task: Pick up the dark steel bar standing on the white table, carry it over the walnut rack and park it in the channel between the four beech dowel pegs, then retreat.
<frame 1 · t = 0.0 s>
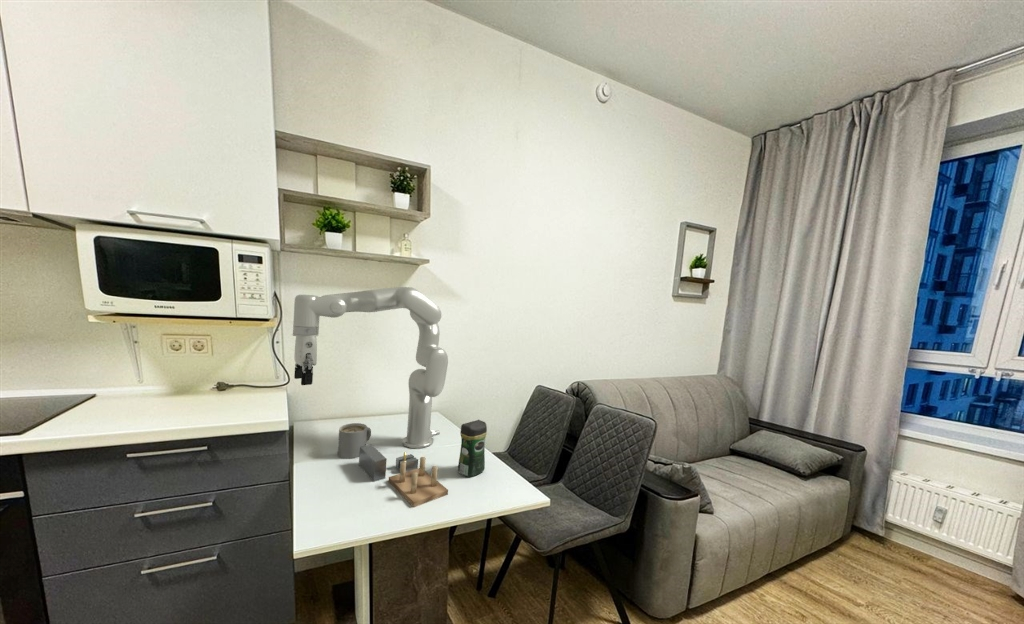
hand: (303, 381, 119), 31 cm above the table, fingers open, 9 cm apart
rack: (417, 487, 116), on the table
steel bar: (371, 472, 124), on the table
coffee mug: (356, 452, 138), on the table
coffee jar: (470, 472, 129), on the table
slot block: (406, 468, 128), on the table
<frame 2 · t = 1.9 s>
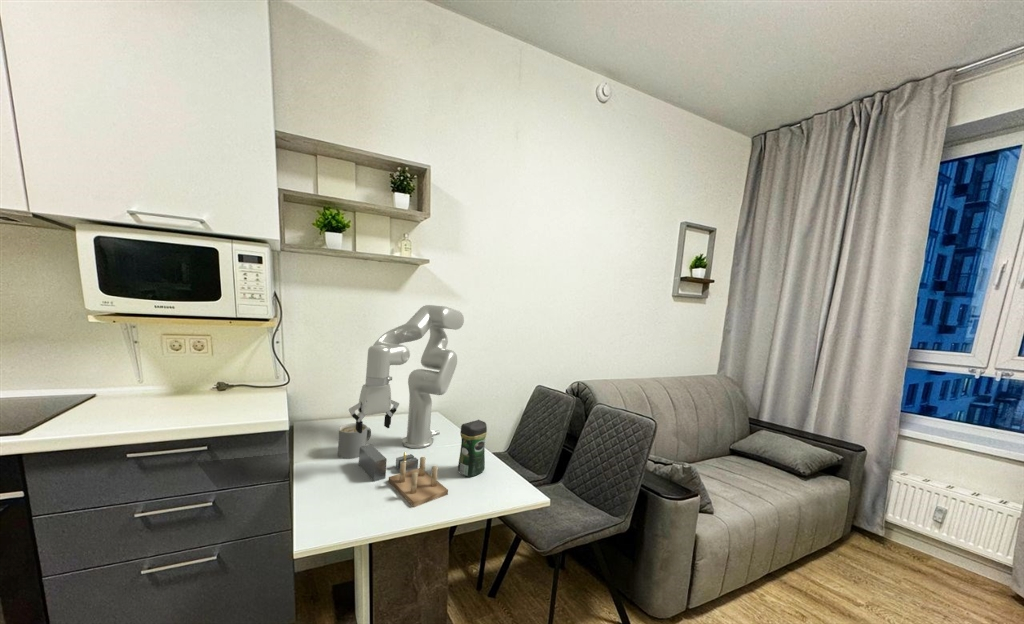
hand: (373, 429, 123), 15 cm above the table, fingers open, 9 cm apart
nothing on the table moved.
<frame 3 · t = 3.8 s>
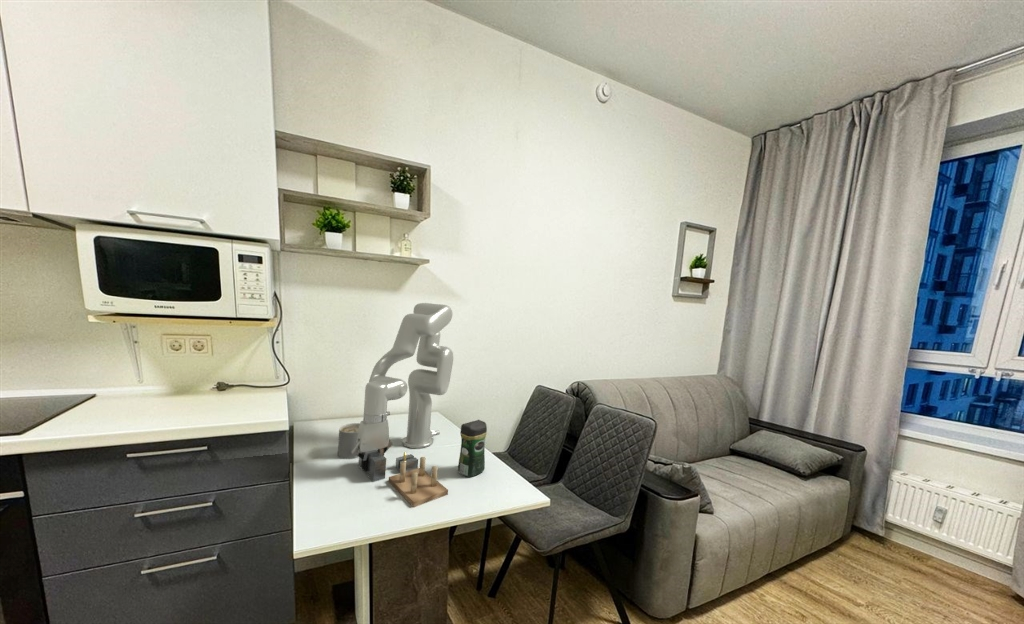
hand: (371, 467, 123), 1 cm above the table, fingers closed on steel bar, 4 cm apart
steel bar: (371, 471, 124), on the table, touching gripper
everything else where it was.
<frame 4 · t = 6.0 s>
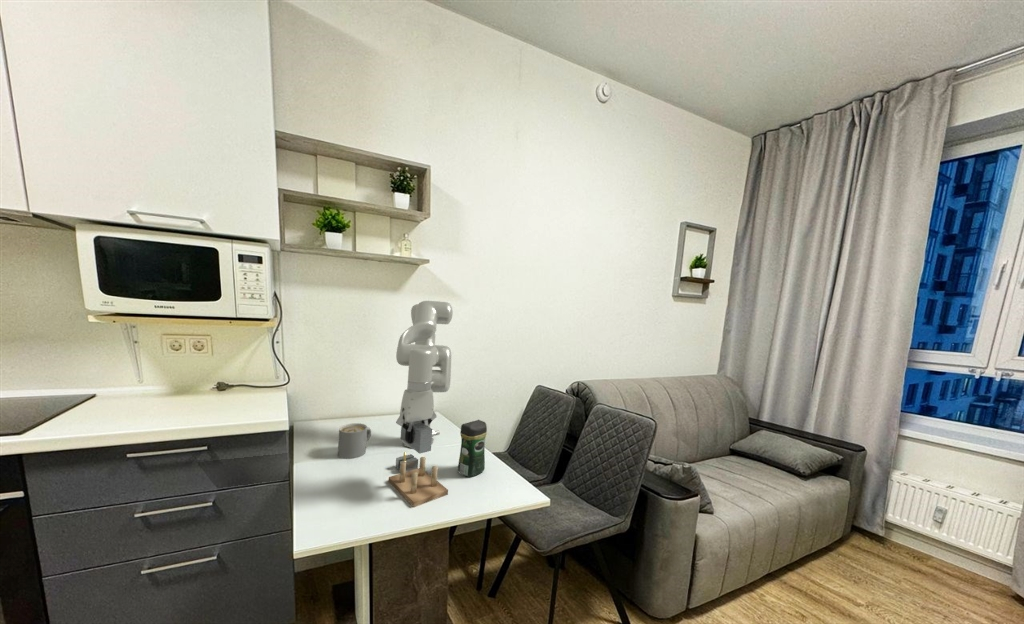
hand: (415, 440, 116), 16 cm above the table, fingers closed on steel bar, 4 cm apart
steel bar: (415, 444, 116), point 14 cm above the table, touching gripper
everything else where it was.
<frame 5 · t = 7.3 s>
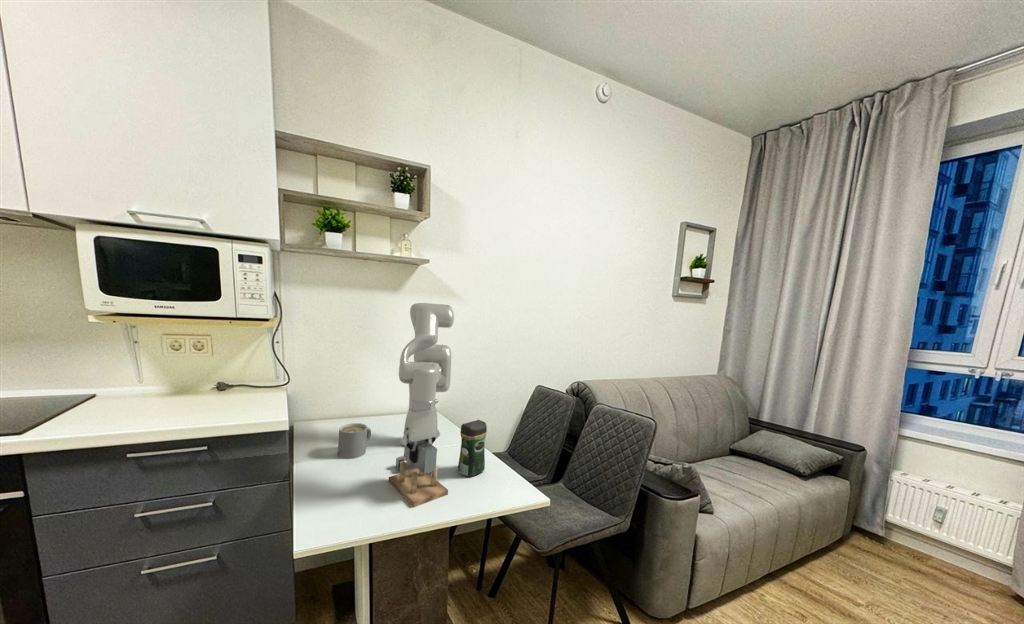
hand: (419, 459, 115), 10 cm above the table, fingers closed on steel bar, 4 cm apart
steel bar: (419, 463, 115), point 8 cm above the table, touching gripper
everything else where it was.
when the fingers open (5 cm above the table, at t = 8.5 s): steel bar drops 2 cm, resting on rack.
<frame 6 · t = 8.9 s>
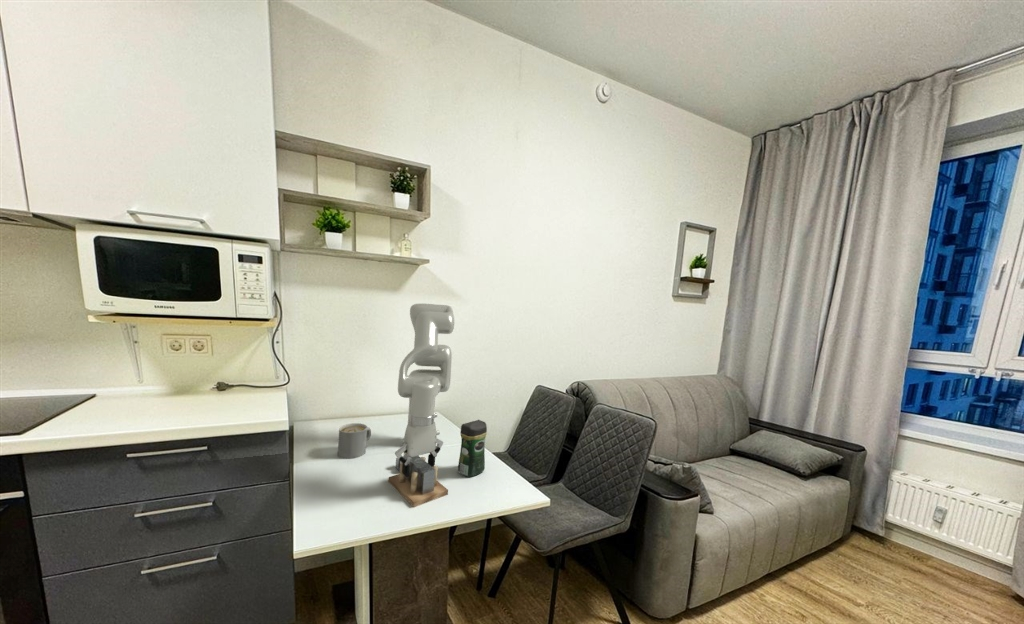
hand: (418, 471, 115), 6 cm above the table, fingers open, 8 cm apart
steel bar: (417, 483, 116), point 1 cm above the table, touching rack
everything else where it was.
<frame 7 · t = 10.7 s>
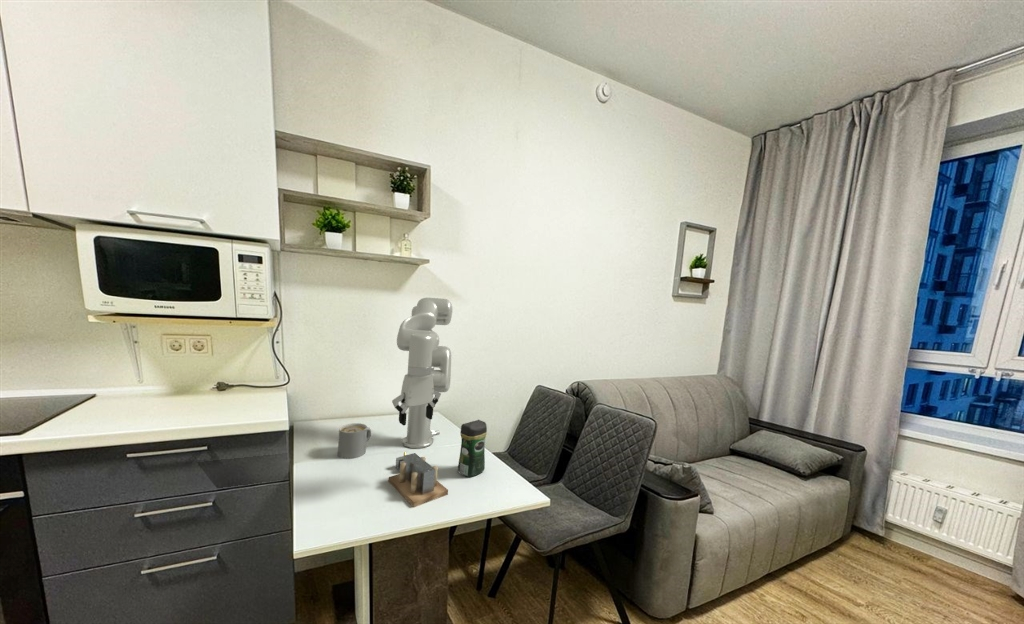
hand: (416, 421, 117), 21 cm above the table, fingers open, 9 cm apart
nothing on the table moved.
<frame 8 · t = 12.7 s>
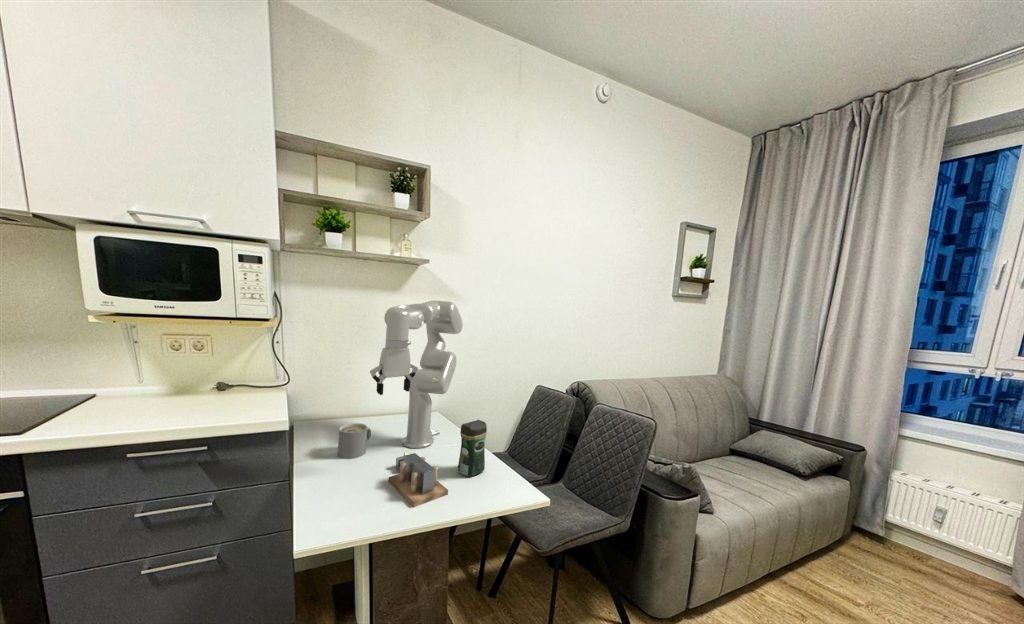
hand: (393, 392, 124), 28 cm above the table, fingers open, 9 cm apart
nothing on the table moved.
at the end: steel bar inside the target area on the rack (0.1 cm from its centre), point 1.5 cm above the rack's base; steel bar tilted 0°; the gripper is holding nothing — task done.
